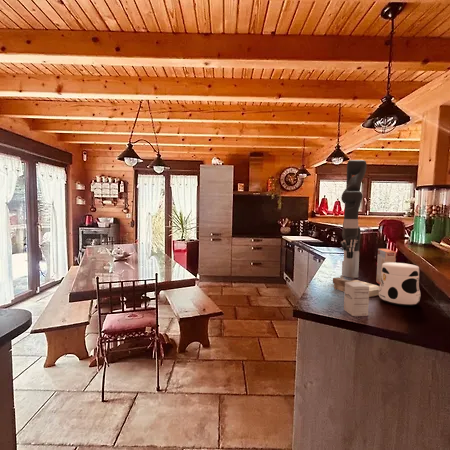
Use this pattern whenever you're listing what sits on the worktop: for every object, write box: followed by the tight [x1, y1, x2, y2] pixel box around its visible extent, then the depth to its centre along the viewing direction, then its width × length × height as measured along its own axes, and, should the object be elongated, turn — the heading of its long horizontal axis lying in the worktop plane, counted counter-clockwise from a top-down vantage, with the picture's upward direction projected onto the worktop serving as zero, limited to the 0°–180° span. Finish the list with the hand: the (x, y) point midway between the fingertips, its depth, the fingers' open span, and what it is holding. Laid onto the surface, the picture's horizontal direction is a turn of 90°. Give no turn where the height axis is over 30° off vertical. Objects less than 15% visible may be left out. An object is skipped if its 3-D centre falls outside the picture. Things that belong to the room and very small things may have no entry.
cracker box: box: [375, 248, 397, 286], centre depth 175 cm, size 14×6×21 cm, turn 168°
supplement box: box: [343, 282, 370, 317], centre depth 128 cm, size 7×7×13 cm
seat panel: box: [333, 279, 380, 298], centre depth 163 cm, size 19×18×3 cm
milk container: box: [378, 262, 422, 307], centre depth 143 cm, size 17×17×18 cm
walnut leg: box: [332, 276, 354, 287], centre depth 159 cm, size 16×4×3 cm, turn 25°
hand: (349, 258), depth 167 cm, fingers closed
